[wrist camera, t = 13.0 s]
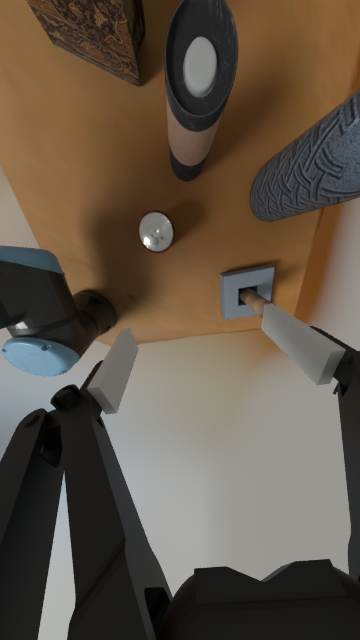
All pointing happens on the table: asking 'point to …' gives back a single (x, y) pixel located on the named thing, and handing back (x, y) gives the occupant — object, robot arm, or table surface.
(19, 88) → the table surface
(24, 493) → the robot arm
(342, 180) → the vase
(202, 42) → the travel mug
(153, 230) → the soda can
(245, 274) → the socket block
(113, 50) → the book
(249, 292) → the peg
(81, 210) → the table surface
